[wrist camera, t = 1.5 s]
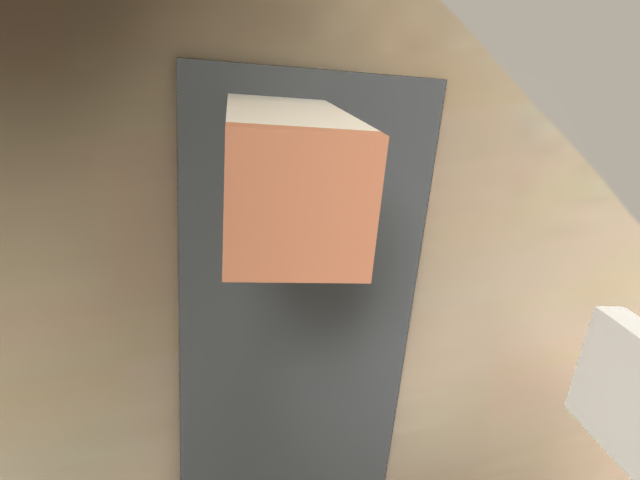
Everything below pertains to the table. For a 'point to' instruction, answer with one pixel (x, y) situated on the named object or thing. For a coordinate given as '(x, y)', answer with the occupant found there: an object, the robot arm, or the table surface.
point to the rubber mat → (295, 293)
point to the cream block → (299, 192)
